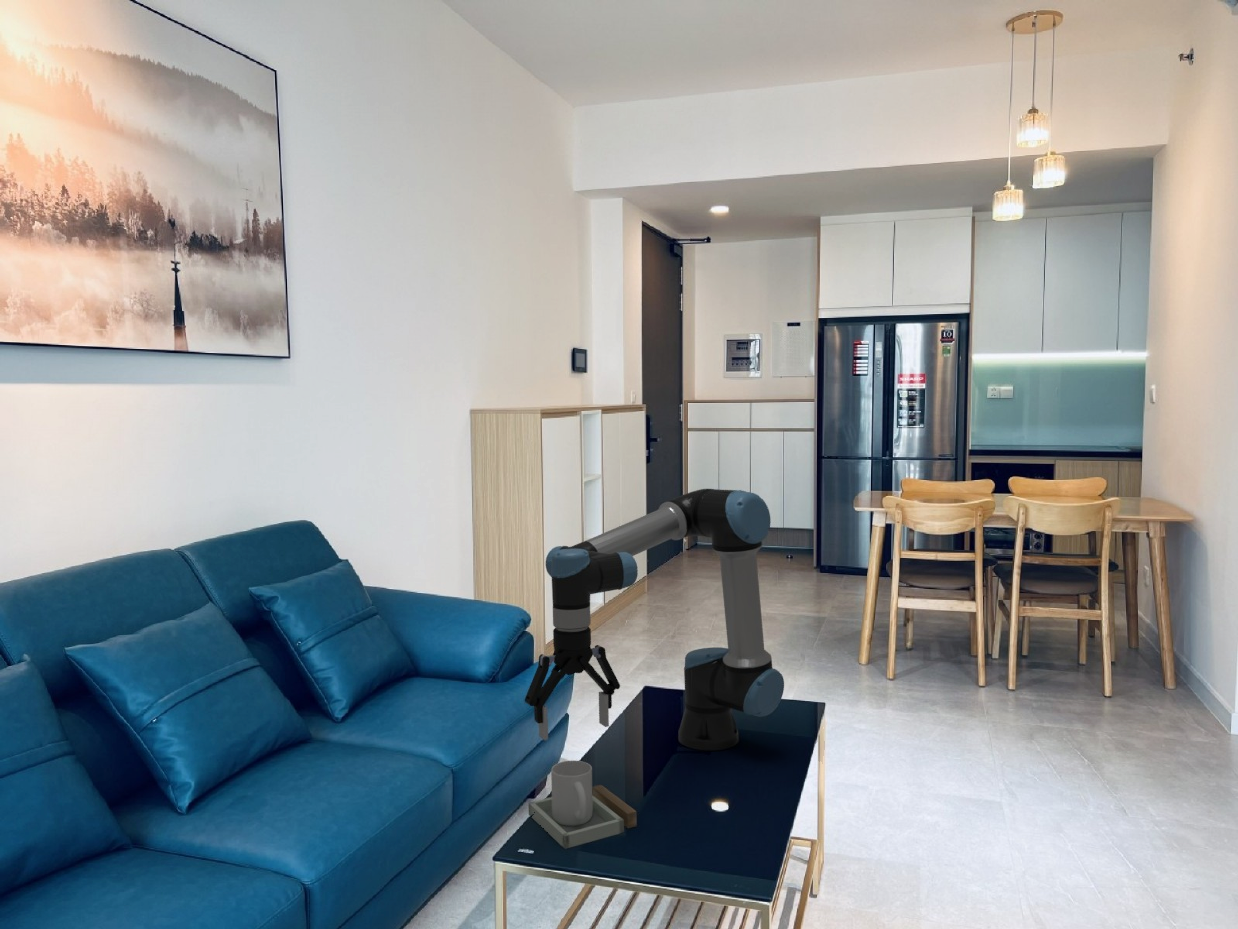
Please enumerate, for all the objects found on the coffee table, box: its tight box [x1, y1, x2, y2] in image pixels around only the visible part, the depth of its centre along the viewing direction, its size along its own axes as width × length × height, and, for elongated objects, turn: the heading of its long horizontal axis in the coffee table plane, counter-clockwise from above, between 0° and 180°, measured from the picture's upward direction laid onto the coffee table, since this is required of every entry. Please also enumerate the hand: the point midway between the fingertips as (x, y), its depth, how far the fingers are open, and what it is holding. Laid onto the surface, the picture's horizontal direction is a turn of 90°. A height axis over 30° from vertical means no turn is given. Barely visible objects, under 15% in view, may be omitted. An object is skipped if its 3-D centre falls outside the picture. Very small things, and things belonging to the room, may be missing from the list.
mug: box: [550, 760, 593, 826], centre depth 177 cm, size 12×8×10 cm
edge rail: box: [592, 784, 638, 829], centre depth 182 cm, size 2×15×3 cm, turn 29°
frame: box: [528, 794, 625, 850], centre depth 177 cm, size 13×17×2 cm
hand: (574, 731), depth 176 cm, fingers open, 13 cm apart
